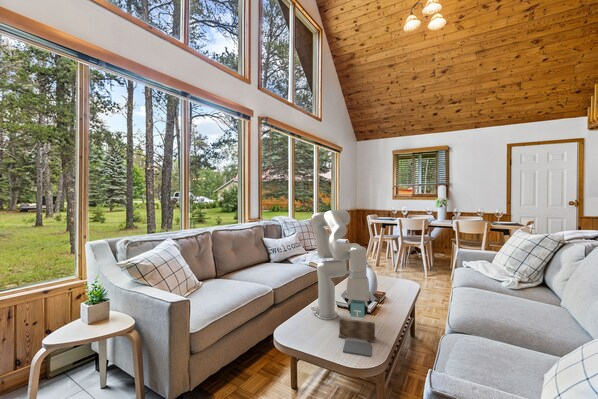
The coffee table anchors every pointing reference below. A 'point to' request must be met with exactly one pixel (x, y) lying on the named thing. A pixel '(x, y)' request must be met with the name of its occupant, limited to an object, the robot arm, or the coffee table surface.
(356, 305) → the letter cube
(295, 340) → the coffee table surface
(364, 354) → the mat
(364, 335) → the screen
